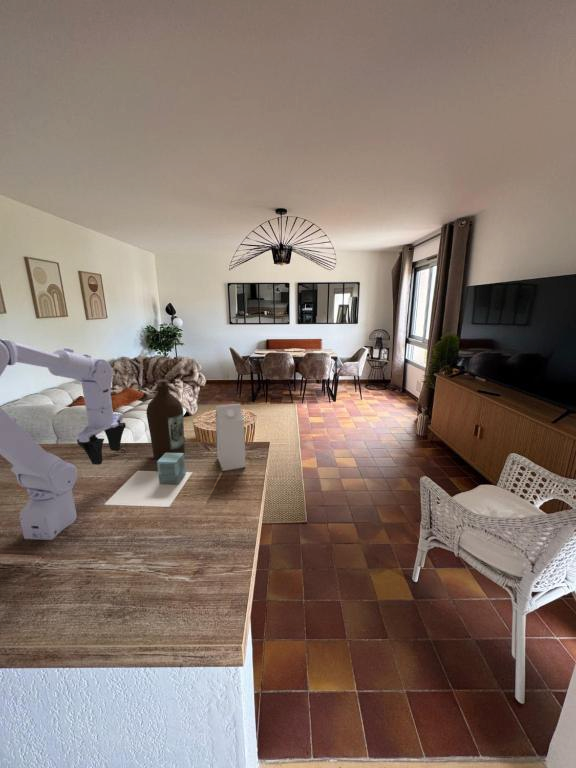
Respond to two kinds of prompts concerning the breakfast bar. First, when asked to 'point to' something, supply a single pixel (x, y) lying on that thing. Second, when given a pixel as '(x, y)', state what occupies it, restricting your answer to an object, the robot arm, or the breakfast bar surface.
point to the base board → (146, 491)
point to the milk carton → (230, 436)
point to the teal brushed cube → (171, 468)
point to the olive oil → (165, 422)
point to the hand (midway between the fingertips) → (106, 456)
